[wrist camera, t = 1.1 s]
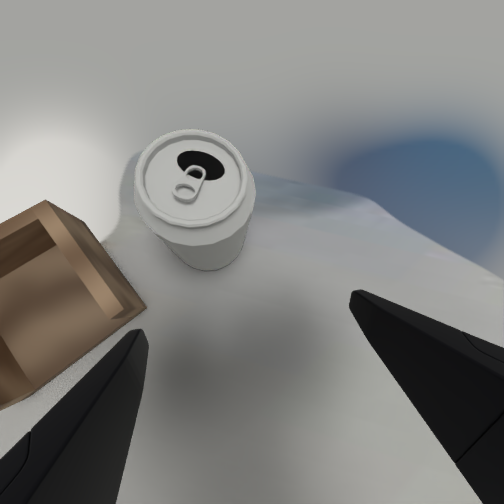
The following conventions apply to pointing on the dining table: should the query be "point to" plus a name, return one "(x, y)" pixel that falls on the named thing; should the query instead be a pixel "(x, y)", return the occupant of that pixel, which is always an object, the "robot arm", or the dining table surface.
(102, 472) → the robot arm
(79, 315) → the u rest
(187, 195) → the can
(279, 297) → the dining table surface
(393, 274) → the dining table surface
